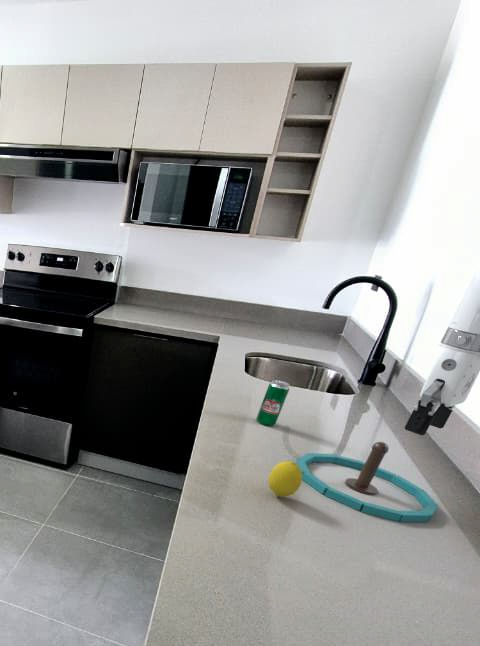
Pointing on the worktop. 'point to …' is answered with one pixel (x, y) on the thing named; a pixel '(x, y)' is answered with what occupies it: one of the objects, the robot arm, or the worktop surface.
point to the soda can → (273, 402)
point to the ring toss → (369, 470)
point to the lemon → (285, 479)
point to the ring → (365, 507)
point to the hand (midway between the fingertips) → (423, 428)
